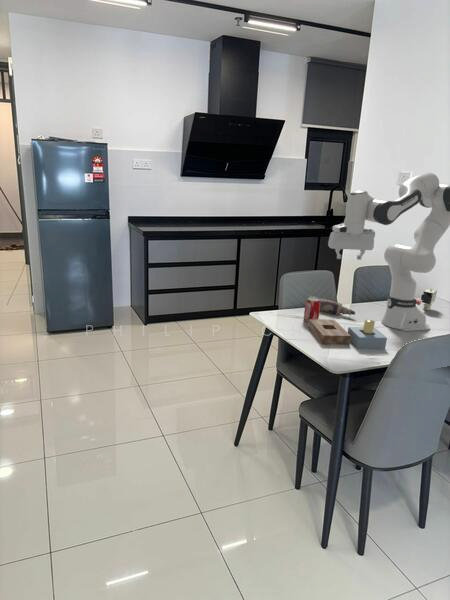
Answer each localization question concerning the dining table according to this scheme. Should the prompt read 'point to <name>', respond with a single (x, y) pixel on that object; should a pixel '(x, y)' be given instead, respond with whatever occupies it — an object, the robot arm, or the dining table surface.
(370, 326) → the brass pin
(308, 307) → the soda can
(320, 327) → the wooden socket block
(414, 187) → the robot arm
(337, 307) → the decorative bottle
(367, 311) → the dining table surface
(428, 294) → the pneumatic valve
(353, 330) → the dock block
